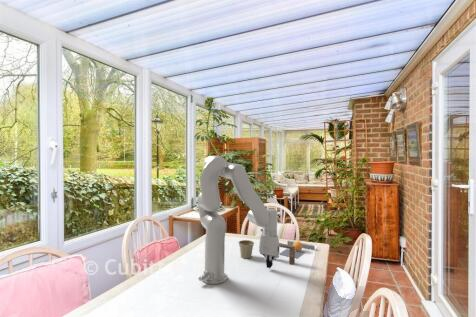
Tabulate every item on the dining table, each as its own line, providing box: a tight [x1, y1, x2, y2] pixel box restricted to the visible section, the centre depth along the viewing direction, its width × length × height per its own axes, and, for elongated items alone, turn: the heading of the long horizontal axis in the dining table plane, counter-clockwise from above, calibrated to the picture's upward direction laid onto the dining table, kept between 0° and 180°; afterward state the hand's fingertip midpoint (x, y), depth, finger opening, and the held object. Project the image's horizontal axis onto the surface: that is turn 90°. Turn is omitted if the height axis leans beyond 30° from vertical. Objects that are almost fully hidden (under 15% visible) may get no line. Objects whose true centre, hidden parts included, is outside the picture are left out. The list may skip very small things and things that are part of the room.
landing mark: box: [279, 248, 305, 259], centre depth 174 cm, size 12×12×1 cm
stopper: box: [286, 240, 316, 251], centre depth 186 cm, size 2×18×2 cm, turn 56°
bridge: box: [269, 242, 296, 265], centre depth 161 cm, size 3×15×10 cm, turn 56°
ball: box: [293, 240, 303, 252], centre depth 179 cm, size 6×6×6 cm
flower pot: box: [238, 239, 255, 260], centre depth 167 cm, size 9×9×9 cm
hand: (269, 267), depth 149 cm, fingers closed
